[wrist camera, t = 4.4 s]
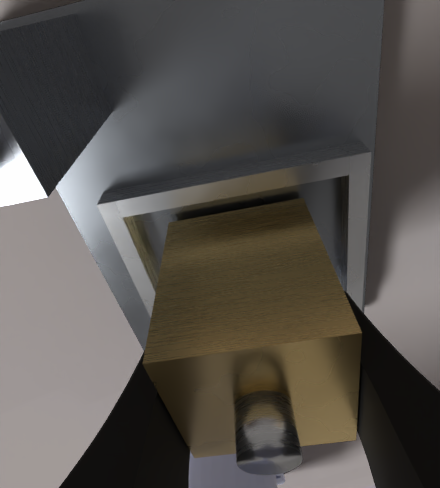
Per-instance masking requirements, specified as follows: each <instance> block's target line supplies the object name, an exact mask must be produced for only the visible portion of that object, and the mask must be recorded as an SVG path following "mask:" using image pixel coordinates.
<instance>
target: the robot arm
mask: <svg viewBox="0 0 440 488" xmlns="http://www.w3.org/2000/svg"><path fill="white" fill-rule="evenodd" d="M344 293H345V295H346V297H347V299H348V302H349V304H350V306H351V309H352V311H353V313H354V315H355V318H356V320H357V322H358V325H359V327H360V329H361V332H362V343H361V361H360V379H359V397H358V416H357V432H358V434H359V437H360V439H361V442H362V445H363V448H364V450H365V453H366V456H367V459H368V462H369V466H370V469H371V473H372V476H373V479H374V483H375V486H376V488H440V391H439V390H438V389H437V388H436V387H435V386H434V385H432V384H431V383H430V382H429V381H428V380H427V379H426V378H425V377H424V376H423V375H422V374H421V373H420V372H419V371H418V370H416V369H415V368H414V367H413V366H412V365H411V364H410V363H409V362H408V361H407V360H406V359H405V358H404V357H403V356H402V355H401V354H400V353H399V352H398V351H397V350H396V349H395V348H394V347H393V345H392V344H391V343H390V342H389V341H388V340H387V339H386V338H385V337H384V336H383V335H382V334H381V333H380V332H379V331H378V329H377V328H376V327H375V326H374V325H373V324H372V323H371V321H370V320H369V319H368V318H367V317H366V316H365V314H364V313H363V312H362V311H361V310H360V308H359V307H358V306H357V305H356V303H355V302H354V301H353V300H352V298H351V297H350V296H349V294H348V293H347V292H346V291H344ZM144 353H145V351H144ZM144 353H143V355H142V357H141V359H140V361H139V363H138V365H137V367H136V368H135V370H134V372H133V374H132V376H131V378H130V380H129V382H128V384H127V386H126V387H125V389H124V391H123V393H122V394H121V396H120V398H119V399H118V401H117V403H116V405H115V406H114V408H113V410H112V411H111V413H110V415H109V416H108V418H107V420H106V421H105V423H104V424H103V426H102V428H101V429H100V431H99V432H98V434H97V435H96V437H95V438H94V440H93V441H92V443H91V444H90V446H89V447H88V449H87V450H86V452H85V453H84V454H83V456H82V457H81V458H80V460H79V461H78V463H77V464H76V465H75V467H74V468H73V469H72V471H71V472H70V474H69V475H68V476H67V478H66V479H65V480H64V482H63V483H62V484H61V486H60V487H59V488H277V485H278V484H283V483H284V482H285V477H284V473H282V474H276V475H255V474H250V473H247V472H245V471H243V470H241V469H240V468H239V467H238V466H237V463H236V454H228V455H219V456H210V457H201V458H194V457H193V455H192V453H191V451H190V450H189V448H188V446H187V444H186V442H185V441H184V439H183V437H182V435H181V433H180V431H179V430H178V428H177V426H176V424H175V422H174V421H173V419H172V417H171V415H170V413H169V411H168V410H167V408H166V406H165V404H164V402H163V400H162V399H161V397H160V395H159V393H158V391H157V390H156V388H155V386H154V384H153V382H152V380H151V379H150V377H149V375H148V373H147V371H146V370H145V368H144V366H143V358H144Z"/></svg>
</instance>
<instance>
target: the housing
mask: <svg viewBox="0 0 440 488" xmlns="http://www.w3.org/2000/svg"><path fill="white" fill-rule="evenodd" d="M361 343H362V332H361V329H360V327H359V325H358V322H357V320H356V318H355V315H354V313H353V311H352V309H351V306H350V304H349V302H348V299H347V297H346V295H345V293H344V290H343V288H342V286H341V283H340V281H339V279H338V276H337V274H336V272H335V270H334V267H333V265H332V263H331V260H330V258H329V256H328V253H327V251H326V249H325V247H324V244H323V242H322V240H321V237H320V235H319V233H318V231H317V228H316V226H315V224H314V221H313V219H312V217H311V214H310V212H309V210H308V208H307V205H306V203H305V201H304V198H300V199H294V200H289V201H284V202H278V203H273V204H267V205H262V206H256V207H251V208H245V209H240V210H235V211H229V212H224V213H218V214H213V215H207V216H202V217H196V218H191V219H186V220H180V221H175V222H169V224H168V229H167V235H166V240H165V245H164V251H163V256H162V262H161V267H160V272H159V278H158V283H157V288H156V294H155V299H154V305H153V310H152V315H151V321H150V326H149V331H148V337H147V342H146V348H145V353H144V358H143V366H144V368H145V370H146V371H147V373H148V375H149V377H150V379H151V380H152V382H153V384H154V386H155V388H156V390H157V391H158V393H159V395H160V397H161V399H162V400H163V402H164V404H165V406H166V408H167V410H168V411H169V413H170V415H171V417H172V419H173V421H174V422H175V424H176V426H177V428H178V430H179V431H180V433H181V435H182V437H183V439H184V441H185V442H186V444H187V446H188V448H189V450H190V451H191V453H192V455H193V457H194V458H201V457H210V456H219V455H228V454H236V463H237V466H238V467H239V468H240V469H241V470H243V471H245V472H247V473H250V474H255V475H276V474H282V473H285V472H289V471H291V470H293V469H295V468H297V467H298V466H299V465H300V464H301V462H302V460H303V457H302V452H301V447H300V446H308V445H317V444H326V443H335V442H344V441H353V440H356V434H357V416H358V397H359V379H360V361H361Z"/></svg>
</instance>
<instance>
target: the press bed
mask: <svg viewBox="0 0 440 488" xmlns="http://www.w3.org/2000/svg"><path fill="white" fill-rule="evenodd" d="M383 14H384V0H84V1H80V2H76V3H72V4H68V5H64V6H60V7H57V8H53V9H49V10H45V11H41V12H37V13H33V14H29V15H25V16H22V17H18V18H14V19H10V20H6V21H2V22H0V207H1V206H6V205H11V204H16V203H21V202H26V201H31V200H36V199H41V198H46V197H49V195H50V194H51V193H52V191H53V190H54V189H55V187H56V189H57V191H58V192H59V194H60V196H61V198H62V200H63V202H64V204H65V205H66V207H67V209H68V211H69V213H70V215H71V216H72V218H73V220H74V222H75V224H76V226H77V228H78V229H79V231H80V233H81V235H82V237H83V239H84V241H85V242H86V244H87V246H88V248H89V250H90V252H91V254H92V255H93V257H94V259H95V261H96V263H97V265H98V267H99V268H100V270H101V272H102V274H103V276H104V278H105V279H106V281H107V283H108V285H109V287H110V289H111V291H112V292H113V294H114V296H115V298H116V300H117V302H118V304H119V305H120V307H121V309H122V311H123V313H124V315H125V317H126V318H127V320H128V322H129V324H130V326H131V328H132V330H133V331H134V333H135V335H136V337H137V339H138V341H139V342H140V344H141V346H142V348H143V350H144V351H145V348H146V342H147V337H148V331H149V326H150V321H151V315H152V310H153V305H154V299H155V294H156V288H157V283H158V278H159V272H160V267H161V262H162V256H163V251H164V245H165V240H166V235H167V229H168V224H169V222H175V221H180V220H186V219H191V218H196V217H202V216H207V215H213V214H218V213H224V212H229V211H235V210H240V209H245V208H251V207H256V206H262V205H267V204H273V203H278V202H284V201H289V200H294V199H300V198H304V201H305V203H306V205H307V208H308V210H309V212H310V214H311V217H312V219H313V221H314V224H315V226H316V228H317V231H318V233H319V235H320V237H321V240H322V242H323V244H324V247H325V249H326V251H327V253H328V256H329V258H330V260H331V263H332V265H333V267H334V270H335V272H336V274H337V276H338V279H339V281H340V283H341V286H342V288H343V290H344V291H346V292H347V293H348V294H349V296H350V297H351V298H352V300H353V301H354V302H355V303H356V305H357V306H358V307H359V308H360V310H361V311H362V312H363V313H364V305H365V290H366V274H367V259H368V244H369V228H370V213H371V198H372V182H373V167H374V152H375V136H376V121H377V106H378V90H379V75H380V60H381V44H382V29H383Z"/></svg>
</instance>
